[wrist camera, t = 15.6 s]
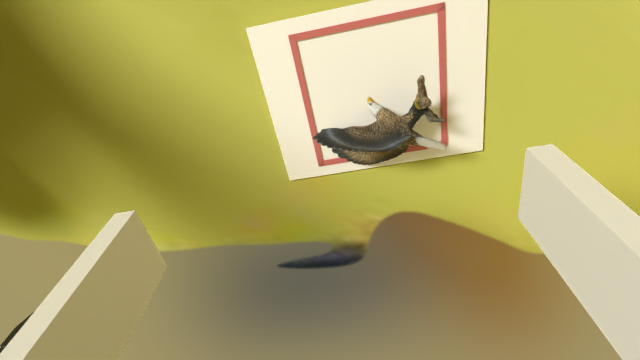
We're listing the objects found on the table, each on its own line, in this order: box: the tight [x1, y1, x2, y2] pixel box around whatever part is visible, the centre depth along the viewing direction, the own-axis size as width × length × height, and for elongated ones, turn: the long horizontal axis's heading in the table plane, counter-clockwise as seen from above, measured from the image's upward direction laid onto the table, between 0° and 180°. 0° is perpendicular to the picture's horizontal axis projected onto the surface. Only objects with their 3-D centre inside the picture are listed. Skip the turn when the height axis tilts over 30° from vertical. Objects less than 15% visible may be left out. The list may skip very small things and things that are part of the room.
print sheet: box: [246, 0, 488, 180], centre depth 30 cm, size 18×14×1 cm
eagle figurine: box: [313, 75, 447, 165], centre depth 29 cm, size 8×7×9 cm
